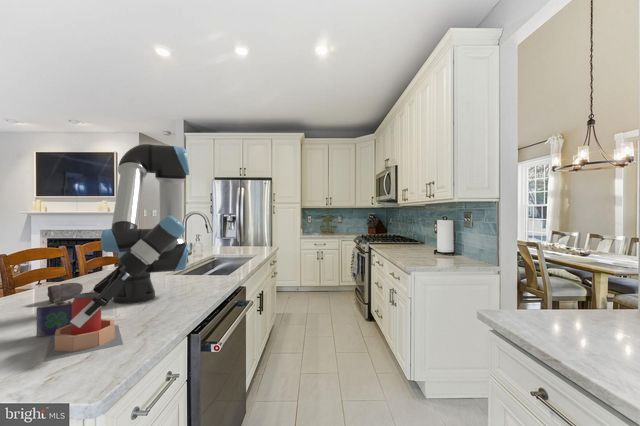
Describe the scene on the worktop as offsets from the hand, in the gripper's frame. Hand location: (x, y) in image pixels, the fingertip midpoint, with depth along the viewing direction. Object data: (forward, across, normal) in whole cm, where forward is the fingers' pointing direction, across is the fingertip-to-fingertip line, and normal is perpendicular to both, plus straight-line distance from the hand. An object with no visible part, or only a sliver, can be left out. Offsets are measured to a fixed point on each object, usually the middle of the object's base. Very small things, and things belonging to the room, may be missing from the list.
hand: (75, 317), depth 83 cm
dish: (+3, 0, -7) cm, 7 cm away
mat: (+4, 0, -7) cm, 8 cm away
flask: (+8, +12, -2) cm, 15 cm away
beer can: (+3, 0, -6) cm, 7 cm away
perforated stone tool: (+9, +58, -2) cm, 59 cm away
